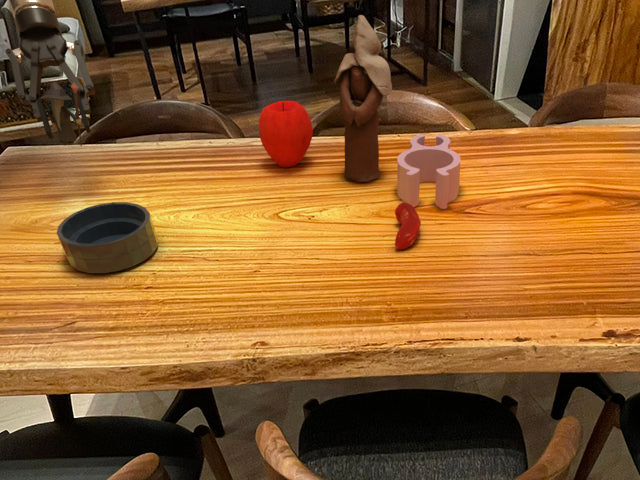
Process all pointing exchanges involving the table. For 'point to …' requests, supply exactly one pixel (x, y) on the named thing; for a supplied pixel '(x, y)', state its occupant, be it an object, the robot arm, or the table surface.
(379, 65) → the sculpture
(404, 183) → the clip
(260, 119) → the apple
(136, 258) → the basin
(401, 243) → the vegetable
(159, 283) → the table surface
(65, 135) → the wizard figurine
